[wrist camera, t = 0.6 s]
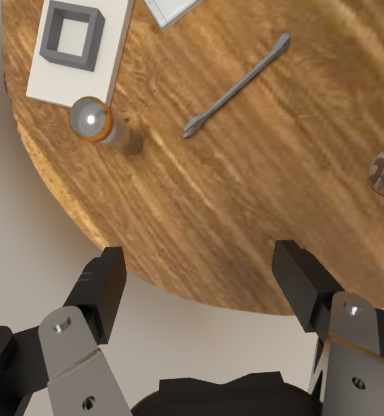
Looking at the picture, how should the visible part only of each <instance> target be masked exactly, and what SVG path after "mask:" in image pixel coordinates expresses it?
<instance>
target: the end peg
mask: <svg viewBox="0 0 384 416" xmlns="http://www.w3.org/2000/svg"><path fill="white" fill-rule="evenodd" d="M69 124H70V127H71V130H72V131H73V133H74V134H75V135H76V136H77V137H79V138H81V139H83V140H86V141H88V142H92V143H97V142H99V143H101V144H104V145H106V146H108V147H111V148H113V149H115V150H117V151H120V152H122V153H124V154H127V155H135V154H137V153H139V152H140V150H141V149H142V146H143V140H142V137H141V135H140V134H139V133H138V132H136V131H135V130H134V129H132V128H131V127H130V126H128V125H127V124H126V123H124V122H123V121H122V120H120V119H119V118H118V117H116V116H115V115H114V114H113V113H112V111H111V109H110V108H109V107H108V106H107V105H106V104H105V103H104V102H102V101H101V100H100V99H98V98H96V97H92V96H86V97H82V98H80V99H79V100H77V101H76V102H75V103H74V104H73V106H72V108H71V110H70V113H69Z"/></svg>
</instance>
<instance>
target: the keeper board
mask: <svg viewBox="0 0 384 416" xmlns="http://www.w3.org/2000/svg"><path fill="white" fill-rule="evenodd" d="M133 4H134V0H44V5H43V10H42V15H41V20H40V26H39V31H38V36H37V41H36V46H35V51H34V56H33V62H32V67H31V72H30V77H29V82H28V87H27V92H26V96H27V97H29V98H31V99H33V100H37V101H41V102H45V103H49V104H53V105H57V106H61V107H66V108H70V109H71V108H72V106H73V104H74V103H75V102H76V101H77V100H79V99H80V98H82V97H86V96H92V97H96V98H98V99H100V100H101V101H102V102H104V103H105V104H106V105H107V106H108V107H109V108H110V104H111V100H112V96H113V91H114V87H115V83H116V78H117V74H118V70H119V65H120V61H121V57H122V52H123V48H124V43H125V39H126V35H127V30H128V26H129V22H130V17H131V13H132V9H133Z"/></svg>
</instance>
